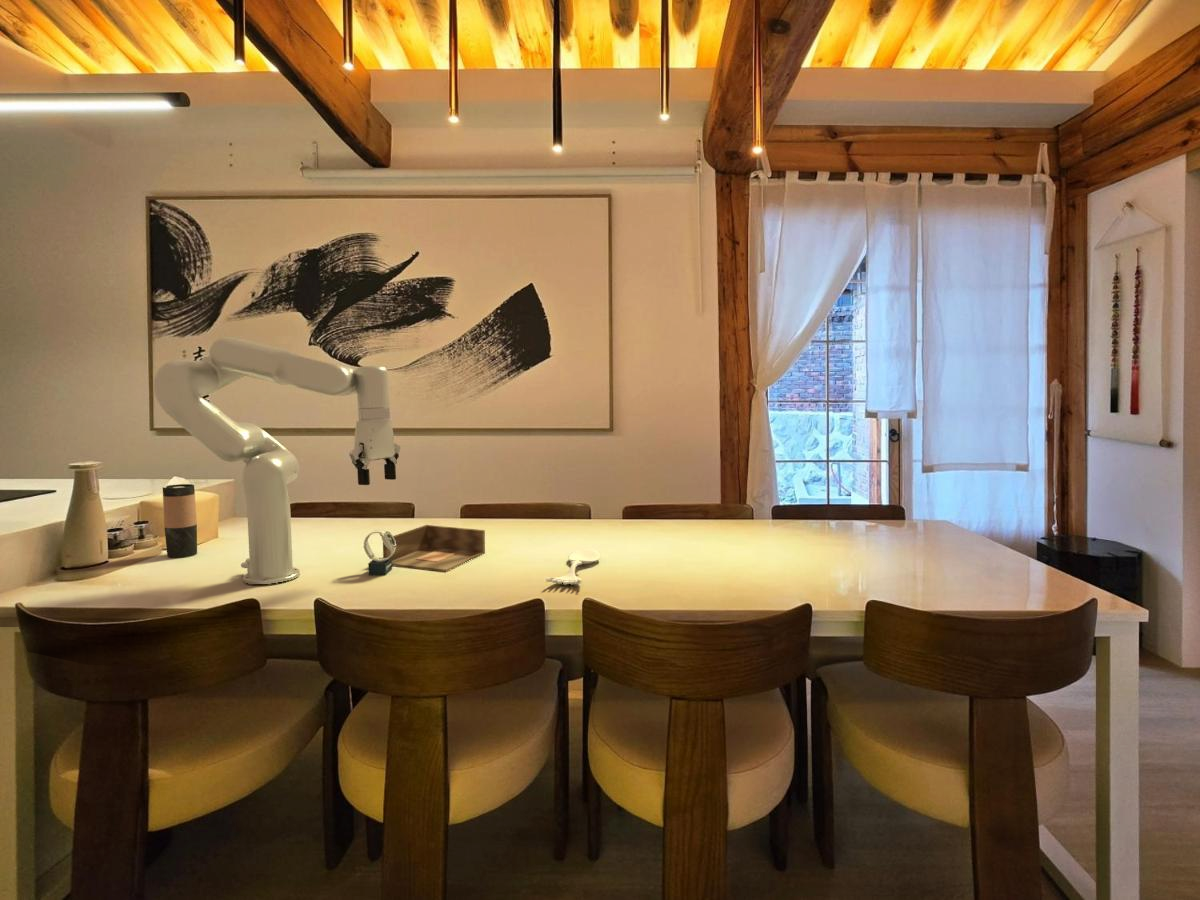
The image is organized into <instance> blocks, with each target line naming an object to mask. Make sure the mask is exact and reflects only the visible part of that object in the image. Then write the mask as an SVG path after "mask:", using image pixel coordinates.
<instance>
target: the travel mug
mask: <svg viewBox="0 0 1200 900" xmlns="http://www.w3.org/2000/svg"><path fill="white" fill-rule="evenodd" d="M195 491H196V490H195V484H191V483H190V484H189V483H187V484H186V483H183V484H182V483H181V484H179V483H178V484H170V485H167V486H165V487H162V499H163V500H162V502H163V504H162V505H163V525H164V537H165V546H166V555H167V556H166V557H167V558H168V559H184V558H189V557H193V556H196V555H197V554H198V527H197V526H198V523H197V522H198V521H197V507H196V494H195V493H196V492H195Z"/></svg>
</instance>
